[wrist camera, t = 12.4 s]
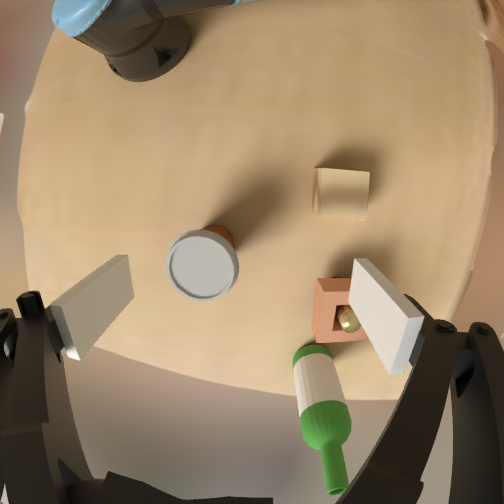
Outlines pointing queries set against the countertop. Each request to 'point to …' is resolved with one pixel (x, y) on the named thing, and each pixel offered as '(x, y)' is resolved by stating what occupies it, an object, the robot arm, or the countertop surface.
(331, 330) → the square frame block
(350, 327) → the light bulb
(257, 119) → the countertop surface
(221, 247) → the disposable coffee cup
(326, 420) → the wine bottle
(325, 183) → the stand
